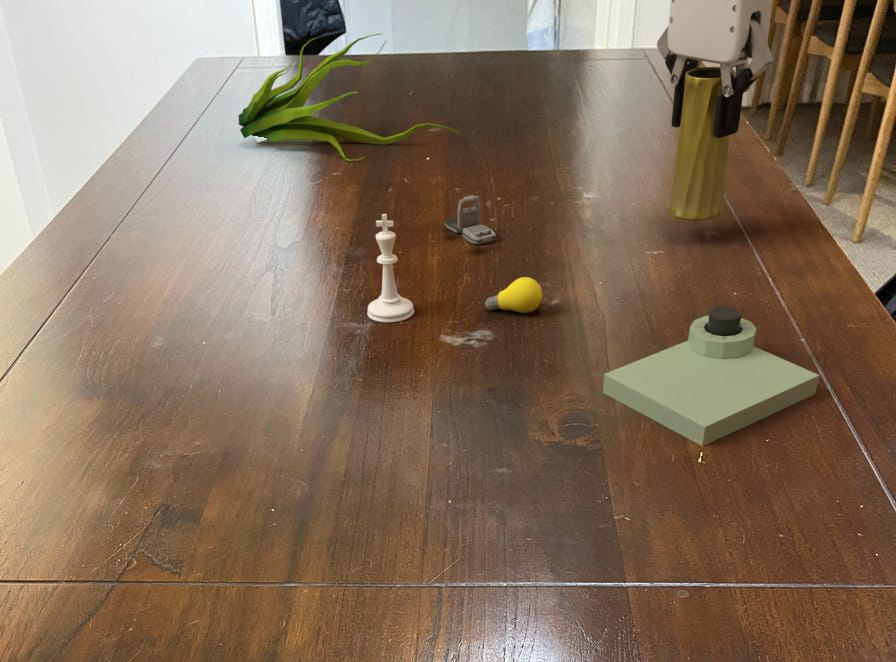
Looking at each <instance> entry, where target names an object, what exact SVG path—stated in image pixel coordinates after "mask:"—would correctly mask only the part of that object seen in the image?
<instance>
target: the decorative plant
mask: <svg viewBox="0 0 896 662" xmlns="http://www.w3.org/2000/svg"><path fill="white" fill-rule="evenodd" d="M380 35H383V33H376V34H371V35H370V34H369V35H367V36H363V37H360V38H357V39H355V40H353V41H352V42H351V43H349V44H348V45H347V46H346V47H344V48H343V49H342V50H339V51H338V52H335V53H334V54H332V55H329V56H327V57H326V58H325V59H324V60H323V61H321V63H319V64H318V65H317V66H316V67H315V68H314V69H312V70H311V71H310V72H309V73H308V75H307V76H306V77H305V78H304V79H303V81H302V82H300V81H301V80H302V77H303V66H304V65H303V63H304V62H303V53H304V50H305V47H306V46H307V45H308V44H309V43H310V42H311V41H314V40H315V39H317V37H314V38H312V39H310V40H308V41H307V43H305V44H304V45H303V46H302V47H301V49H300V52H299V53H300V54H299V64H298V69H297V73H296V75H295V76H294V77H293V78H291V79H290V80H289V81H287V82H286V83H284V84H282V85H280V86H278V87H275V88H273V86H274V84H275V82H276V81H277V79H278V78H279V77H281V76H283V75H285V74H287V73H288V72H289V71H290V70H291V68H290V67H291V66H292V64H293V62H294V60H292V61H291V63H290V64H288V66H287V67H286V68H283V69H281V70H278V71H275V72H274V73H271V74H270V75H269V76H268V77H267V78H266V79H265V80H264V82H263V83H262V85H261V87H260V89H258V91H257V92H256V93H254V94H253V96H252V98H251V100H250V102H249V103H248V105H247V106H246V107H244V108H243V109H242V112H241V113H239V114H238V125H239V126H241V128H240V129H239V131H240V133H241V135H242V137H243V139H246V138H248V137H250V136H251V135H252V136H251V137H253V136H258V137H264V138H267V139H269V140H268V141H271V142H274V143H277V142H279V143H283V142H287V141H317V142H328V143H330V144H331V145H332V146H333V147H335V148H336V149H337V151H338V153H339V154H340V156H341V157H342V156H343V157H347V156H346V155H345V153H344V151H343V148H342V146H341V145H340V143H339V142H338V140H337V139H336V138H338V139H342V140H347V141H350V142H355V140H357V141H366V142H361V143H364V144H373V145H382V146H386V145H389V144H392V143H395V142H398V141H401V140H404V139H406V138H407V137H409V136H410V135H412V134H413V133H414V132H415V131H417V130H418V129H419V128H424V127H427V126H428V127H437V128H445V129H447V130H450V131H452V132H454V133H456V134H460V132H458V131H457V130H454V129H452V128H450V127H448V126H445V125H441V124H440V125H439V124H434V123H428V122H426V123H420V124H419V123H418V124H416V125H414V126H412V127H411V128H409V129H407V130H405V131H404V132H401V133H397V134H393V135H390V136H386V137H383V136H380V135H378V134H375V133H373V132H370V131H367V130H365V129H362V128H361V127H360V128H359V127H358V126H353V125H350V124H345V123H342V122H338V121H333V120H331V119H328V118H327V119H326V118H321V117H318V116H313V115H314V113H317V112H319V111H320V110H322V109H325V108H327V107H328V106H330V105H332V104H334V103H336V102H338V101H340V100H342V99H343V98H345V97H347V96H349V95H355V94H358V93H359V91H349V92H346V93H344V94H342V95H339V96H337V97H334V98H331V99H328V100H326V101H322V102H319V103H316V104H313V105H307V106H305V104H306V103H307V102H308V100H309V98H310V96H311V95H312V94H313V92H314V90H315V89H316V88H317V87H318V85H319V84H320V83H321V81H322V80H323V79H324V78H325V77H326V76H327V75H328V73H329V72H330V71H331V70H332V69H333V68H337V67H341V66H345V65H349V66H359V67H360V66H363V65H366V64H369V63H370V62H371V61H372V60H373V59H374V58H375V57H377V55H378V54H380V52H381V51H382V49H383V47H384V46H385V44H386V43H387V40H385V41H384V43H383V45H382V46H381V47H380V49H379V51H378V52H376V53H375V54H374V55H373V56H371V58H370V59H368V60H366V61H361V62H359V61H356V60H351V59H346V58H345V59H341V60H339V59H340V58H342V57H343V56H345V55H346V54H347V53H348V52H349V50H351V49H352V47H353V46H354V45H355V44H356V43H358V42H359V41H362V40H365V39H367V38H369V37H373V36H380ZM285 71H286V72H285ZM283 72H284V73H283ZM299 82H300V84H299V85H298V86H297V87H296V88H295V89H294V87H295V86H296V85H297V84H298V83H299ZM367 141H369V142H367ZM370 141H371V142H370ZM374 142H380V143H374ZM343 157H342V158H343ZM365 158H366V157H365V156H364V157H360V158H358V159H351V160H350V158H348V157H347V159H346V158H343V159H344V160H345V161H347V162H357V161H360V160H363V159H365ZM353 160H355V161H353Z"/></svg>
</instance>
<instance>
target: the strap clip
mask: <svg viewBox="0 0 896 662" xmlns="http://www.w3.org/2000/svg"><path fill="white" fill-rule="evenodd" d="M473 201H476V205H474V206H468V207H464V208H463V204H464V203H469V202H473ZM456 211H457V212H456V213H457V215H456V216H457V217H454V218H451V219H447V220H446V219H445V220H444V221H443V225H444V226H445V227H446V229H448V230H450V231H452V232H454V233H455V234H462V238H463V239H465V240H466V241H468V242H469V243H471V244H473V245H480V244H485V243H490V242H493V241H495V240H496V238H497V235H496V232H495V231H494V230H493V229H491V228H490V227H488V226H486V225H483V224H480V219H481V211H482V203H481V198H480V197H479V195H474V194H472V195H468V196H464V197H462V198H461V199H459V201H458V205H457V210H456Z"/></svg>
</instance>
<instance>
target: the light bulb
mask: <svg viewBox="0 0 896 662" xmlns="http://www.w3.org/2000/svg"><path fill="white" fill-rule="evenodd" d="M542 299H543V291H542V286H541V285H540V283H539V282H538V281H537V280H535V279H534V278H533V277H529V276H521V277H519V278H517V279H514V281H512V282H511V283H510V284H508V286H507V287H506V288H505V289H502V290H500V291H499V292H498V294H496V295H492V296H490V297H489V296H488V297H487V299H486V300H485V302H484V306H485V308H486V309H487V310H489V311H491V312H492V311H496V310H502V311H512V312H515V313H520V314H530V313H532V312H534V311H536V309H538V308H539V306H540V305H541V302H542Z"/></svg>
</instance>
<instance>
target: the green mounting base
mask: <svg viewBox="0 0 896 662" xmlns="http://www.w3.org/2000/svg"><path fill="white" fill-rule="evenodd" d="M708 319H709V315H704V316H701V317H699V318H695V319H694V320H693V321H692V323H691V325H690V326H689V329H688V330H689V331H688V338H687V340H685V341H682V342H681V343H678V344H676V345H673V346H670V347H668V348H666V349H663V350H661V351H657V352H656V353H653V354H651V355H648V356H646V357H643V358H641V359H638V360H636V361H633V362H631V363H628V364H626V365H623V366H621V367H618V368H616V369H613V370H611V371H608V372H605V373H604V374H603V385H602V393H603V394H605V395H606V396H608V397H610V398H611V399H614V400H616V401H618V402H619V403H621V404H623V405H625V406H626V407H628V408H630V409H633V410H634V411H636V412H637V413H640V414H641V415H643V416H645V417H646V418H648V419H651V420H653V421H654V422H656V423H658V424H660V425H662V426H663V427H665V428H667V429H669V430H671V431H673V432H675V433H676V434H679V435H680V436H682V437H683V438H685V439H687V440H690V441H692V442H693V443H695V444H697V445H699V446H701V447H704V446H706V445H709V444H710V443H713V442H715V441H717V440H719V439H722V438H724V437H726V436H728V435H730V434H732V433H734V432H737V431H738V430H740V429H743V428H745V427H747V426H750V425H752V424H754V423H757V422H759V421H760V420H762V419H765V418H767V417H769V416H771V415H774V414H775V413H778V412H780V411H782V410H784V409H786V408H788V407H791V406H793V405H795V404H797V403H799V402H801V401H804V400H806V399H808V398H811V397H812V396H815V395H816V392H817V387H818V384H819V379H820V374H818V373H815V372H814V371H811V370H809V369H808V368H807V369H806V368H804V367H803V366H800V365H797V364H795V363H793V362H791V361H789V360H786V359H784V358H782V357H780V356H777V355H774V354H772V353H771V352H768V351H765V350H763V349H761V348H759V347H756V346H755V341H756V336H757V331H758V330H757V327H756V326H755V324H753V322H752V321H750V320H747V319H745V318H742V317H741V322H740V327H739V333H738V334H737V335H734V336H718V335H713V334H711V333H708V332H707V326H708Z"/></svg>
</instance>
